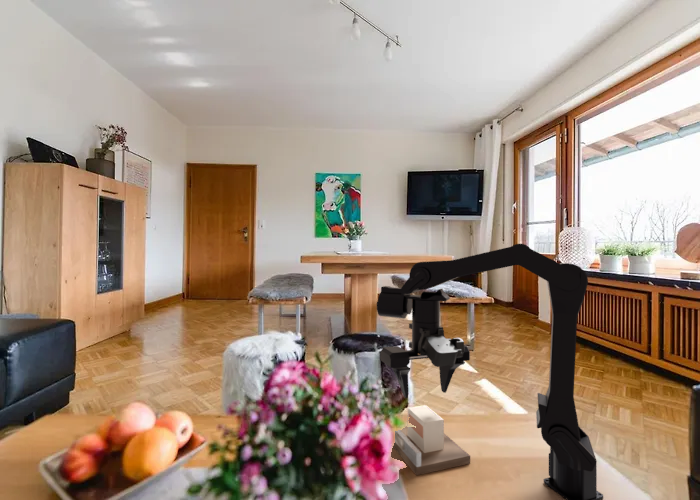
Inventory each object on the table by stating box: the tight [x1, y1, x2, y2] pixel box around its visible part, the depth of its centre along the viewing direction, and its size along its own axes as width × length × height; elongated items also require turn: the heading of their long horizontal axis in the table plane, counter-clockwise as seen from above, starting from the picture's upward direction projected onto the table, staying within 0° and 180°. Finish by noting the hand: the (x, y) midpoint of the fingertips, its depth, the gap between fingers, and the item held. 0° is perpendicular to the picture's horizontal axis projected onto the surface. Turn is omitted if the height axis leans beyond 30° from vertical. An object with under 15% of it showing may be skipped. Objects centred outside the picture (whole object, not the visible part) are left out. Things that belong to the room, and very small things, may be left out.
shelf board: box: [392, 426, 471, 476], centre depth 71 cm, size 14×12×4 cm
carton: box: [407, 404, 445, 453], centre depth 72 cm, size 5×7×6 cm, turn 18°
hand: (425, 394), depth 72 cm, fingers open, 9 cm apart
